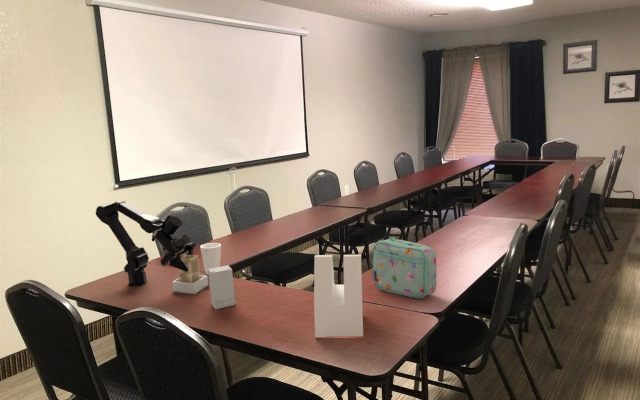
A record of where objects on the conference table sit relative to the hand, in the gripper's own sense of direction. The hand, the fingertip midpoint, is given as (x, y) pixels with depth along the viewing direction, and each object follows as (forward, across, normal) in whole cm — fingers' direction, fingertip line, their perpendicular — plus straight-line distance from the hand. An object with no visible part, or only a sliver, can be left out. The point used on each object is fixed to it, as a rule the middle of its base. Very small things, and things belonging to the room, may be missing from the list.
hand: (191, 268), depth 213 cm
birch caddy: (+4, 0, +6) cm, 7 cm away
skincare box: (+22, -13, -9) cm, 27 cm away
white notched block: (+57, -19, -44) cm, 74 cm away
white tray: (+5, 0, +7) cm, 9 cm away
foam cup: (+4, +22, +9) cm, 24 cm away
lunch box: (+66, +19, -54) cm, 88 cm away
